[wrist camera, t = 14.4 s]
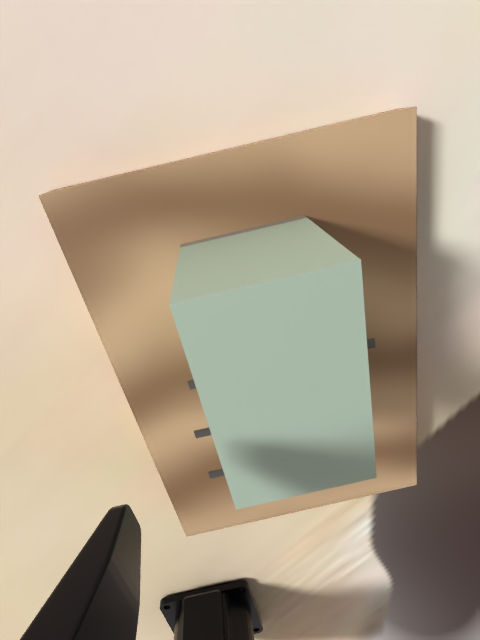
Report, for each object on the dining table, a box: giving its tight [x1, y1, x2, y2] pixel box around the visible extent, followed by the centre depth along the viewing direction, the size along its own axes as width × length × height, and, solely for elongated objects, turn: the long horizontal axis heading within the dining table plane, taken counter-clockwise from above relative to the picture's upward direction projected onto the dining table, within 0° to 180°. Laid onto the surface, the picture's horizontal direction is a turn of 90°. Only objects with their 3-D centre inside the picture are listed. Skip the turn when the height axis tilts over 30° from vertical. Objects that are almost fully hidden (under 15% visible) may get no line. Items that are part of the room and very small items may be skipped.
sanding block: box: [169, 215, 377, 510], centre depth 14 cm, size 8×5×6 cm, turn 12°
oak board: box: [39, 107, 417, 536], centre depth 19 cm, size 20×14×2 cm
